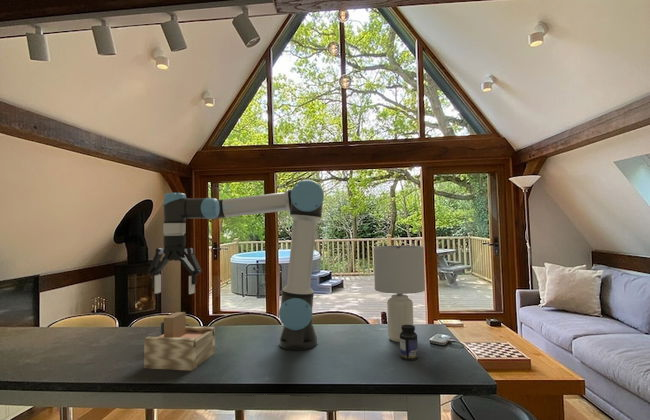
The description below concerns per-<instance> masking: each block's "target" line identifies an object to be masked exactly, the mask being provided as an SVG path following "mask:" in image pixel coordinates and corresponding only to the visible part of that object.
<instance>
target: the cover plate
mask: <svg viewBox="0 0 650 420" xmlns="http://www.w3.org/2000/svg"><path fill="white" fill-rule="evenodd" d="M186 321H187V320H186V312H185V311H181V312H180V311H176V312H173V313H171V314H169V315H167V316H164V317H163V322H164V334H163V335H161V334H160V335H159V336H158V337H175V338H198V337H199V336H201V335H203V334H204V333H206V332H186Z"/></svg>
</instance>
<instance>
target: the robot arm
mask: <svg viewBox="0 0 650 420" xmlns="http://www.w3.org/2000/svg"><path fill="white" fill-rule="evenodd" d="M324 194H325V193H324V191H323V188H322V187H321V185H320V184H319V183H318V182H316V181H315V180H312V179H302V180H300V181H298V182H297V183H296V184H294V185H293V186H292V188H290V189H289V188H288V189H286V190H285V191H284V192H276V193H267V194H259V195H257V194H256V195H249V196H242V197H241V196H240V197H231V198H225V199H217V198H214V197H201V198H200V197H196V198H193V197H192V198H190V197H189V198H187V196H186V193H183V192H167V193H165V194H164V196H163V205H162V207H163V231H162V232H163V235H164V236H163V246H164V247H163V248H162V247H158V248H156V249H155V254H154V257H153V259H152V261H151V263H150V266H149V268H148V269H147V273H148V274H149V275H152V284H153V285H154V295H155V294H156V295H157V294H160V293H162V274H161V272H162V270H163V269H164V267H165V266H166V265H167V264H168V263H169V262H171V261H174V262H175V261H176V262H178V261H179V262H180V263H182V265H183V266H184V268H185V269H186V270H187V271H188V274H190V275H189V276H188V295H193V294H194V293H196V290H195V289H196V288H195V287H196V284H197V283H198V281H197V279H198V277H197V276H198V275H199V274H202V273H203V270H202V268H201V266H200V264H199V261H198V259H197V256H196V255H195V250H194V248H193V247H188V248H186V244H187V243H186V240H187V239H186V238H187V237H186V233H187V232H186V226H187V225H186V224H187V223H186V222H187V221H186V219H187V220H188V219H203V220H204V219H205V220H219V219H225V218H232V217H240V216H242V217H243V216H251V215H257V214H267V213H268V214H270V213H276V212H277V213H278V212H285V211H287V212H288V213H289V216H290V217H291V219H292V220H293V221H292V222H293V223H292V230H291V231H292V233H291V243H290V253H289V261H288V272H287V273H288V274H287V283H286V285H284V287H282V292H281V298H280V299H281V301H280V307H279V309H278V315H279V320H280V322H281V324H282V325H283V327H282V331H281V333H280V337H279V346H280V348H282V349H285V350H289V351H290V350H292V351H299V350H300V351H302V350H303V351H304V350H309V349H311V348H313V347H316V346H317V345H318V337H317V333H316V330H315V328H314V324H313V316H314V315H313V314H314V313H313V306H314V305H313V304H314V294H315V291H314V289H312V287H311V281H312V273H313V272H312V271H313V262H314V252H315V241H316V232H317V231H316V229H317V223H318V221H320V219H322V211H323V203H324V202H323V201H324V197H325V195H324ZM185 254H187V256H186V255H185ZM163 255H164V256H163ZM161 258H162V259H161ZM188 259H189V260H188ZM160 260H161V261H160Z"/></svg>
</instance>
